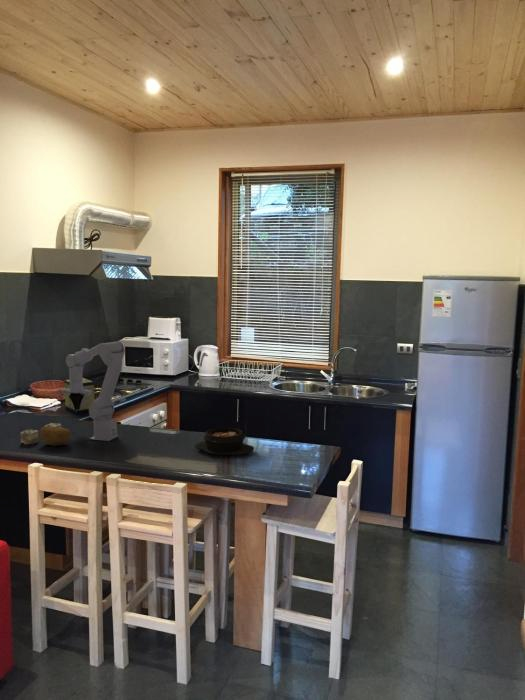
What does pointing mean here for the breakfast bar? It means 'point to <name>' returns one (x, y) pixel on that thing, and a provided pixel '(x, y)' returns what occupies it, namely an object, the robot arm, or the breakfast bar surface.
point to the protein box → (86, 399)
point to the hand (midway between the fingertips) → (77, 409)
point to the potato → (55, 435)
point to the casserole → (224, 442)
